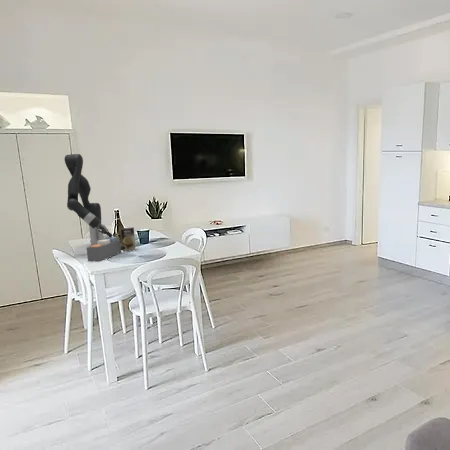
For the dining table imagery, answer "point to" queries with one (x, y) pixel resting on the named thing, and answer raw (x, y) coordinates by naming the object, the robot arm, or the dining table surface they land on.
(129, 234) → the coffee box
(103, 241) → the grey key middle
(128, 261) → the dining table surface
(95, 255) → the block
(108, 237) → the slate key
